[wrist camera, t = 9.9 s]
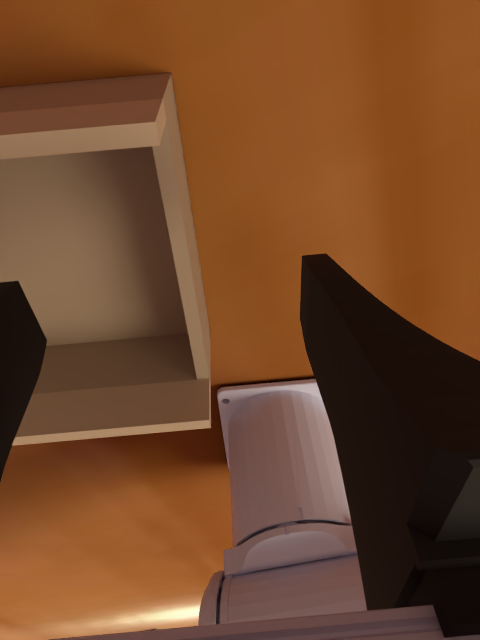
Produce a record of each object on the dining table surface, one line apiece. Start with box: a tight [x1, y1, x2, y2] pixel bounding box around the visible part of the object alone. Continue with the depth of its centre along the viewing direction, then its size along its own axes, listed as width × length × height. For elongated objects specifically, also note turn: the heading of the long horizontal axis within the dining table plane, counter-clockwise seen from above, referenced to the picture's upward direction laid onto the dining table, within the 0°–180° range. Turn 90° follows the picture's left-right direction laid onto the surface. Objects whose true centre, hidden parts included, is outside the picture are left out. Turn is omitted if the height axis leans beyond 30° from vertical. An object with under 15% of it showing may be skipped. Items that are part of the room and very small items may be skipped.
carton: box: [0, 73, 211, 446], centre depth 18 cm, size 13×12×6 cm
